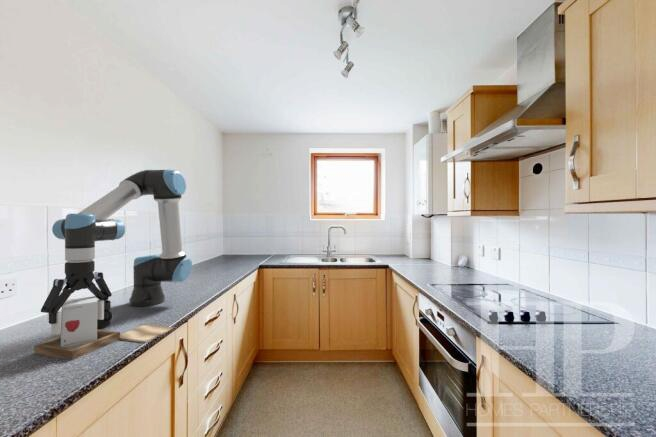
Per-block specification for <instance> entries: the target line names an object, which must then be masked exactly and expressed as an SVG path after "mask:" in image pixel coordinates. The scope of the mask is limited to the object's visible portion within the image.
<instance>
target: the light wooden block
mask: <svg viewBox="0 0 656 437" xmlns="http://www.w3.org/2000/svg"><path fill="white" fill-rule="evenodd" d="M174 329H175V327H173V326H163V325H155V324H148V323H147V324H146V323H145V324H144V325H141V326H138V327H135V328H133V329H131V330H128V331H125V332H124V333H120V339H119V340H118V341H120V340H121V341H128V342H134V343H135V342H136V343H143V344H146V343H148V342H150V341H152V340H154V339H157V338H158V337H161V336H163V335H165V334H167V333H169V332H171V331H173V330H174Z"/></svg>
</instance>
